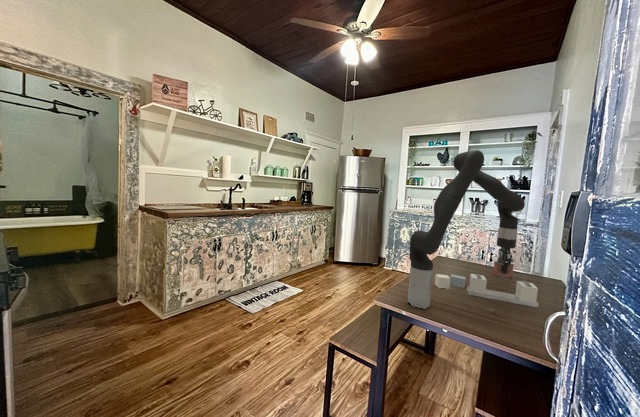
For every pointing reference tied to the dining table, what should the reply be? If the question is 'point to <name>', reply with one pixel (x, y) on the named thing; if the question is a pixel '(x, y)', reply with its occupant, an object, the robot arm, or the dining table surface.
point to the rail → (502, 297)
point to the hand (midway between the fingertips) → (502, 271)
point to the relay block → (442, 281)
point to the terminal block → (457, 281)
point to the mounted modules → (523, 289)
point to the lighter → (497, 270)
